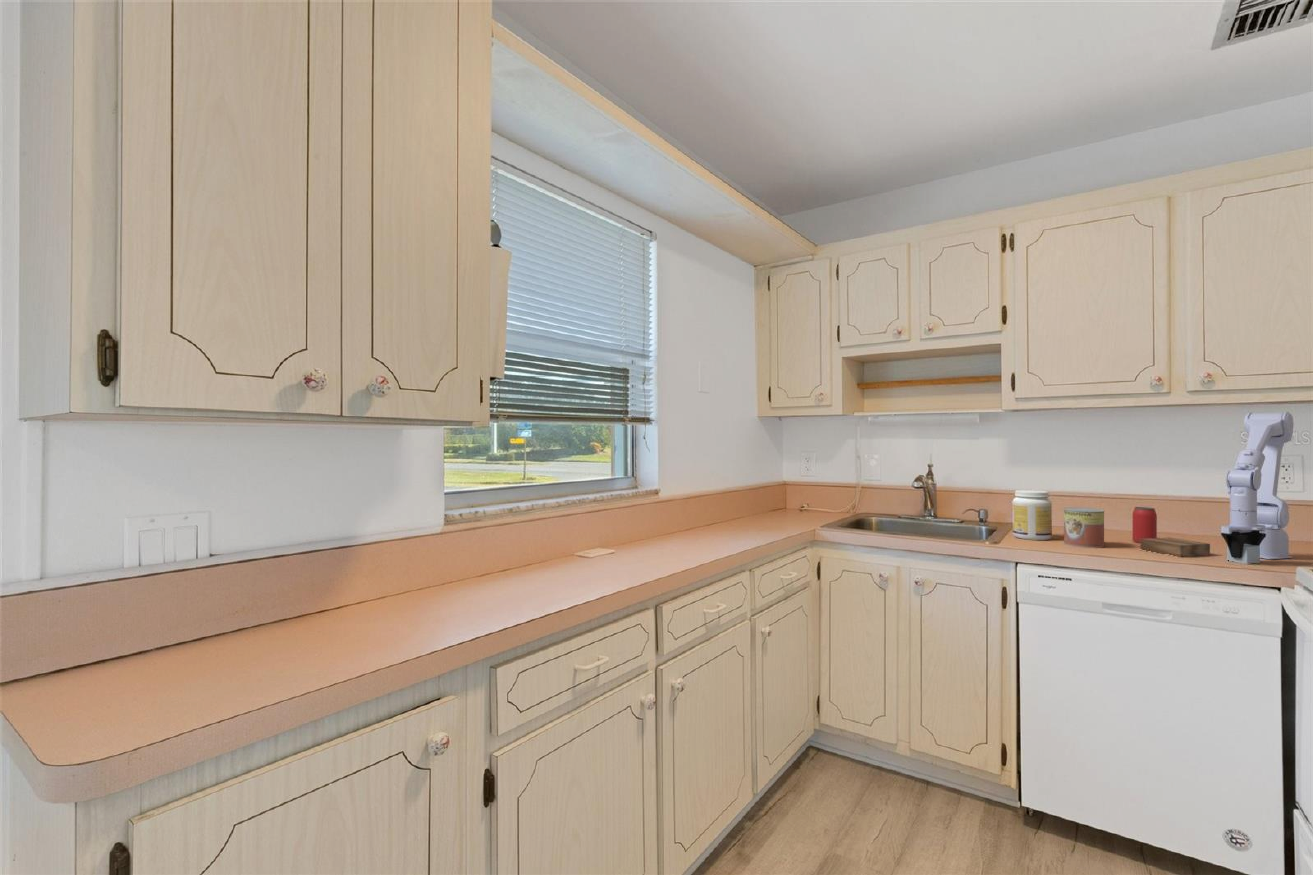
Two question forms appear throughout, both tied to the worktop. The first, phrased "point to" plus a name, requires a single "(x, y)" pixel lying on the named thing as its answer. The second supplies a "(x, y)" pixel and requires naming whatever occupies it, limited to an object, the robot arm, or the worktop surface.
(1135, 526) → the beer can
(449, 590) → the worktop surface
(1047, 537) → the supplement tub
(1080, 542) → the canned food
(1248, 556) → the slate cube
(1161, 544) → the walnut block
